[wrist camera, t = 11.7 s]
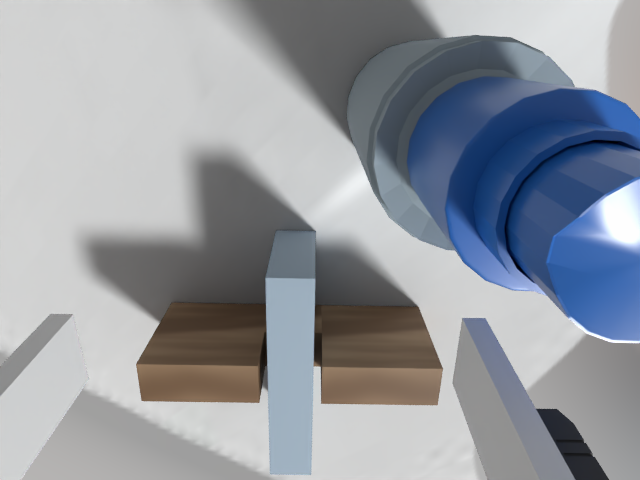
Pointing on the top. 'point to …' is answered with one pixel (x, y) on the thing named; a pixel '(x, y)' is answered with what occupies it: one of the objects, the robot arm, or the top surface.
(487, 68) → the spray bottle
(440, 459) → the top surface
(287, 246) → the slotted plate
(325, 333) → the slotted stand
